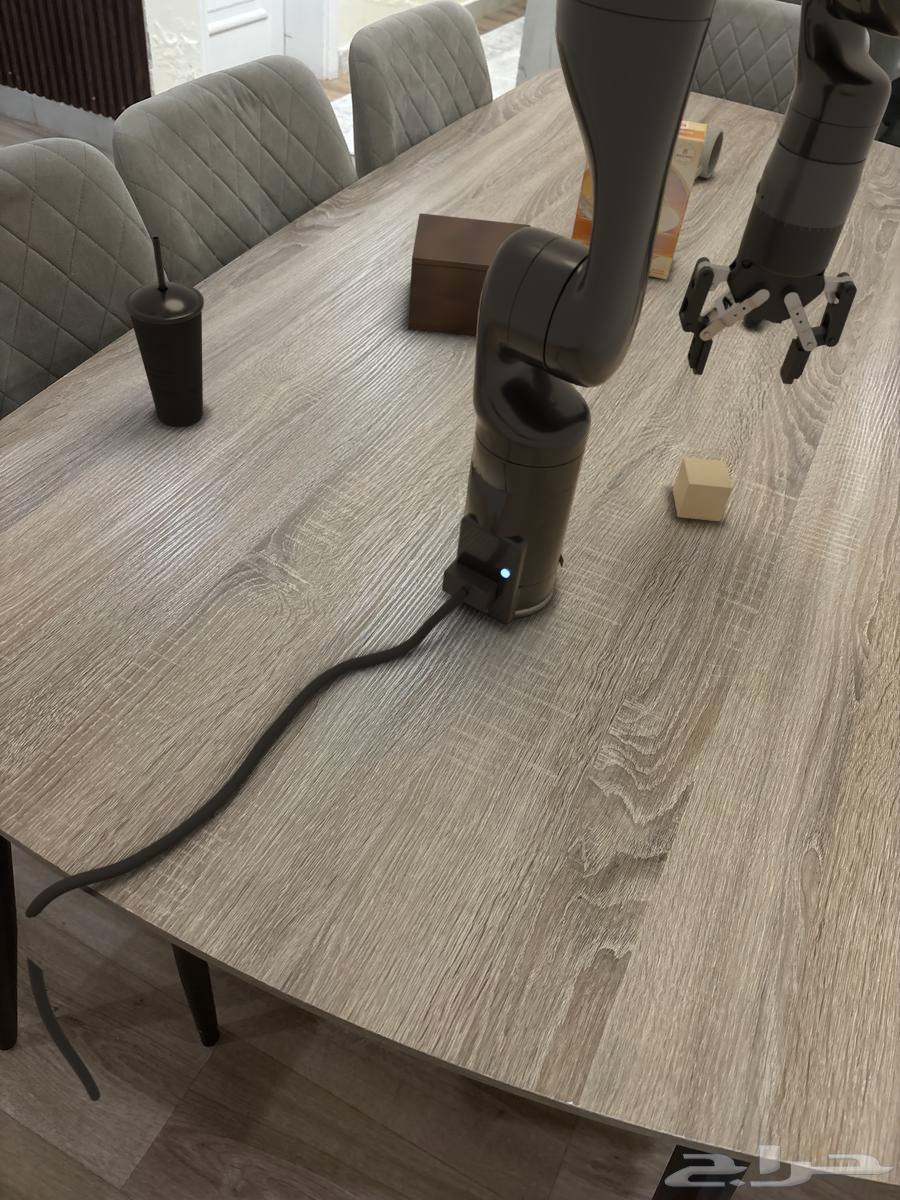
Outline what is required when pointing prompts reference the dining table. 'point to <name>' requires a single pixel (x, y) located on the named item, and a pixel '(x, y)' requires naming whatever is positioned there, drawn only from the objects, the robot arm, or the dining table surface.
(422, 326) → the brown wooden box
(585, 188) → the coffeecake box
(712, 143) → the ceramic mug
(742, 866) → the dining table surface
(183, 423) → the drinking cup
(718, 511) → the block
